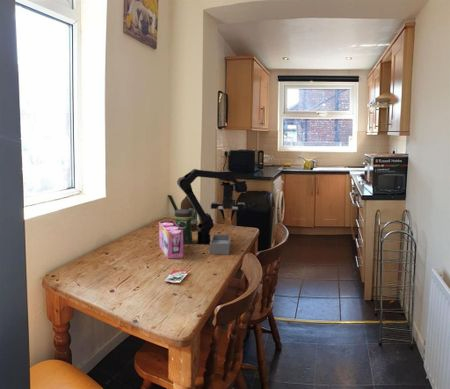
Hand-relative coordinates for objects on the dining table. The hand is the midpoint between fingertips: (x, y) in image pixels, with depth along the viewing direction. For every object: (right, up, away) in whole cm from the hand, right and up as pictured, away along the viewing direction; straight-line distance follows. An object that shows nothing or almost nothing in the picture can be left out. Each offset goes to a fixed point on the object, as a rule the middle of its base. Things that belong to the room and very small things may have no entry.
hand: (227, 220), depth 237 cm
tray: (-4, -14, -15) cm, 21 cm away
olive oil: (-24, -7, +26) cm, 36 cm away
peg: (0, -3, 0) cm, 3 cm away
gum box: (-29, -15, -20) cm, 38 cm away
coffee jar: (-25, -12, -3) cm, 27 cm away
